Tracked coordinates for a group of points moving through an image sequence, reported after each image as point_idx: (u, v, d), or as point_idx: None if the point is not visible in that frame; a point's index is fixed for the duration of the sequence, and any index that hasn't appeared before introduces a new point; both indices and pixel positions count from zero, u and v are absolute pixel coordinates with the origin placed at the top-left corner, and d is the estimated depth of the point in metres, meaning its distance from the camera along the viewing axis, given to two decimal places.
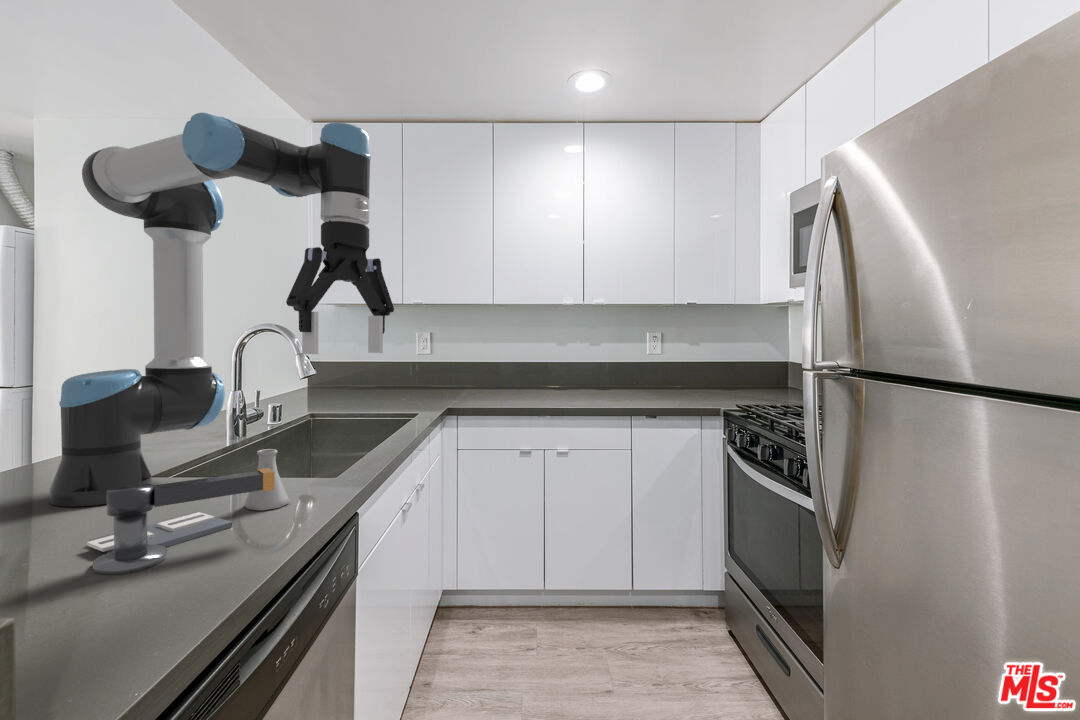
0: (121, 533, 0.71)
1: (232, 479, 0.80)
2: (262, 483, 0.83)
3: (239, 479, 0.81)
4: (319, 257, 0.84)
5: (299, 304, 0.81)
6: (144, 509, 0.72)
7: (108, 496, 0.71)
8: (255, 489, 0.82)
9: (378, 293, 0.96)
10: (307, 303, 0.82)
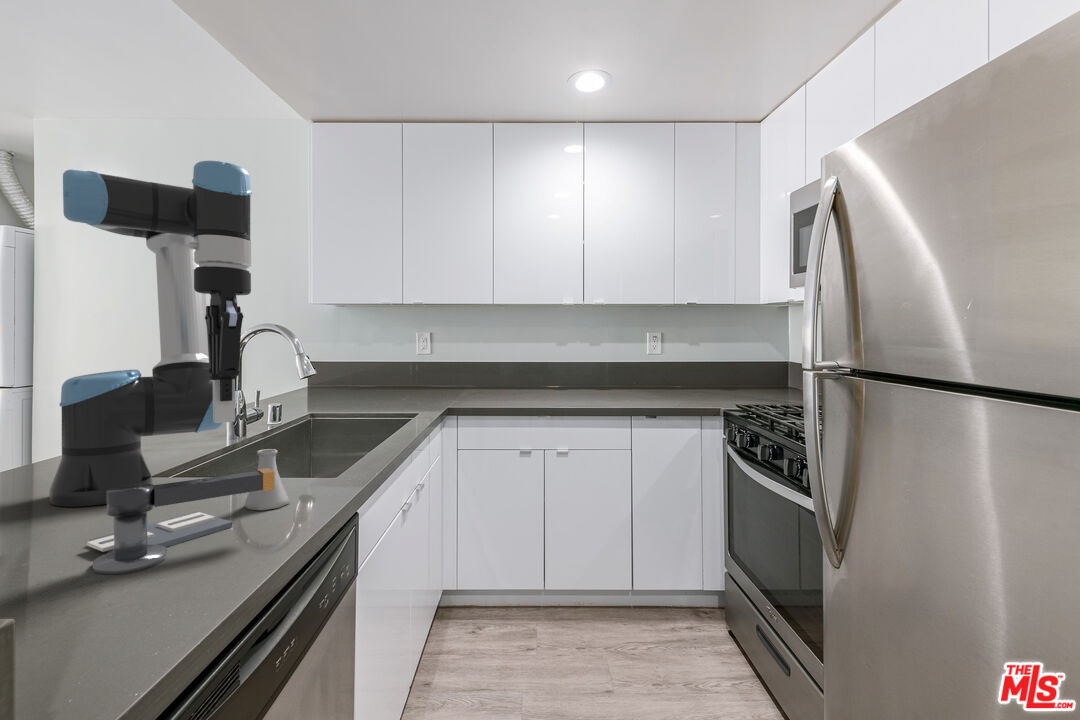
0: (121, 533, 0.71)
1: (232, 479, 0.80)
2: (262, 483, 0.83)
3: (239, 479, 0.81)
4: (207, 322, 0.86)
5: (210, 373, 0.85)
6: (144, 509, 0.72)
7: (108, 496, 0.71)
8: (255, 489, 0.82)
9: None
10: None
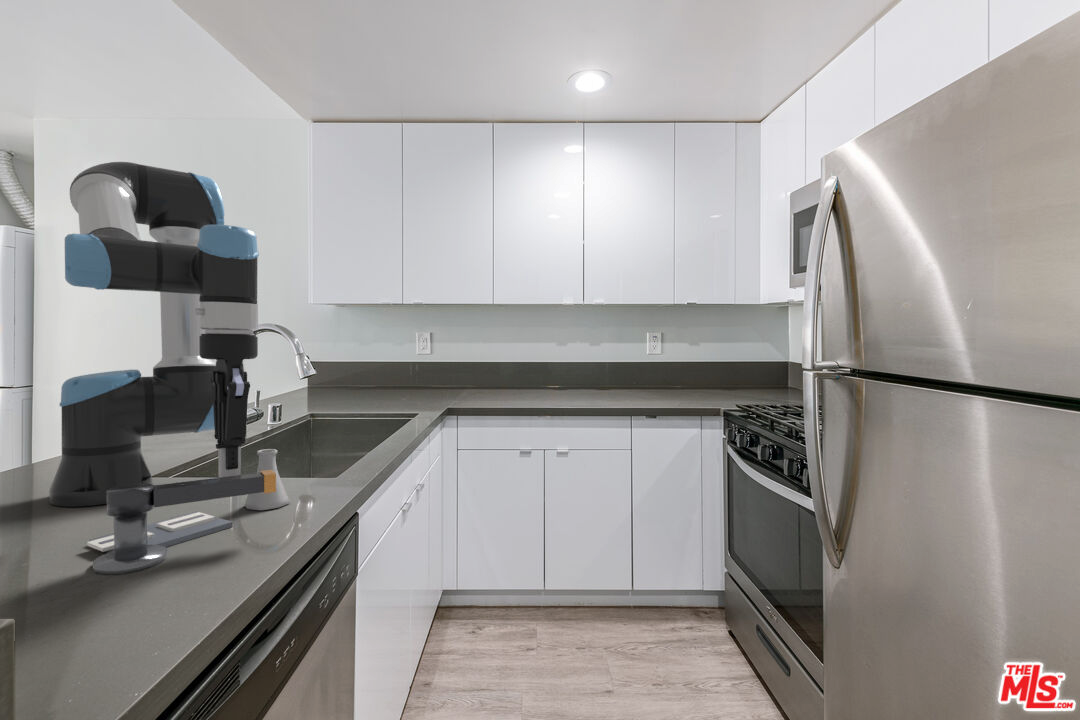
0: (121, 533, 0.71)
1: (233, 481, 0.79)
2: (263, 485, 0.82)
3: (240, 480, 0.80)
4: (212, 385, 0.84)
5: (215, 438, 0.83)
6: (142, 509, 0.72)
7: (107, 496, 0.71)
8: (256, 491, 0.81)
9: None
10: None
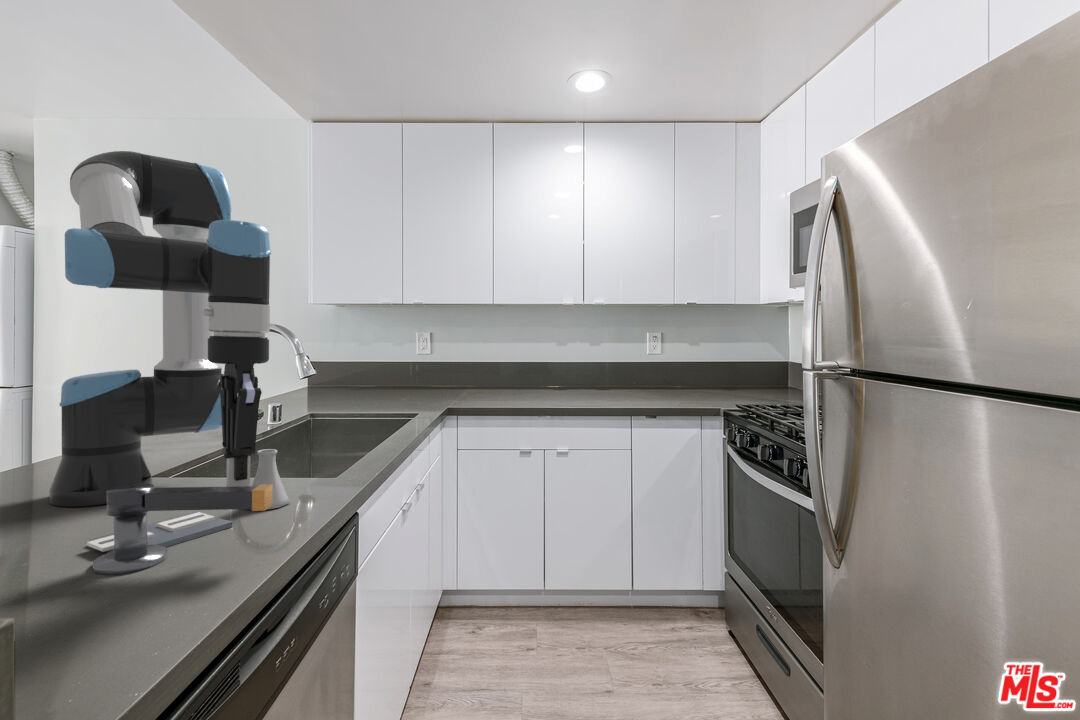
0: (121, 533, 0.71)
1: (220, 492, 0.73)
2: (252, 501, 0.74)
3: (227, 493, 0.73)
4: (220, 390, 0.79)
5: (223, 446, 0.78)
6: (130, 512, 0.71)
7: None
8: (244, 507, 0.74)
9: None
10: None
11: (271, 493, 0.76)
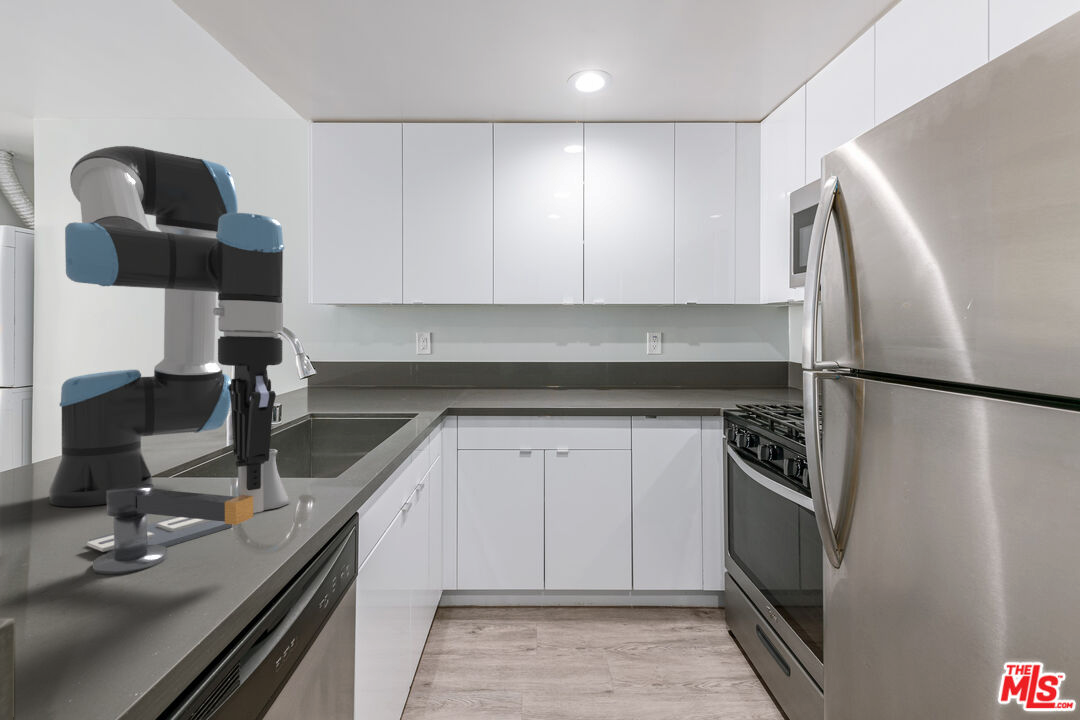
0: (121, 533, 0.71)
1: (198, 501, 0.69)
2: (225, 513, 0.68)
3: (204, 502, 0.69)
4: (231, 393, 0.75)
5: (235, 453, 0.74)
6: (123, 513, 0.71)
7: None
8: (219, 519, 0.69)
9: None
10: None
11: (250, 506, 0.71)
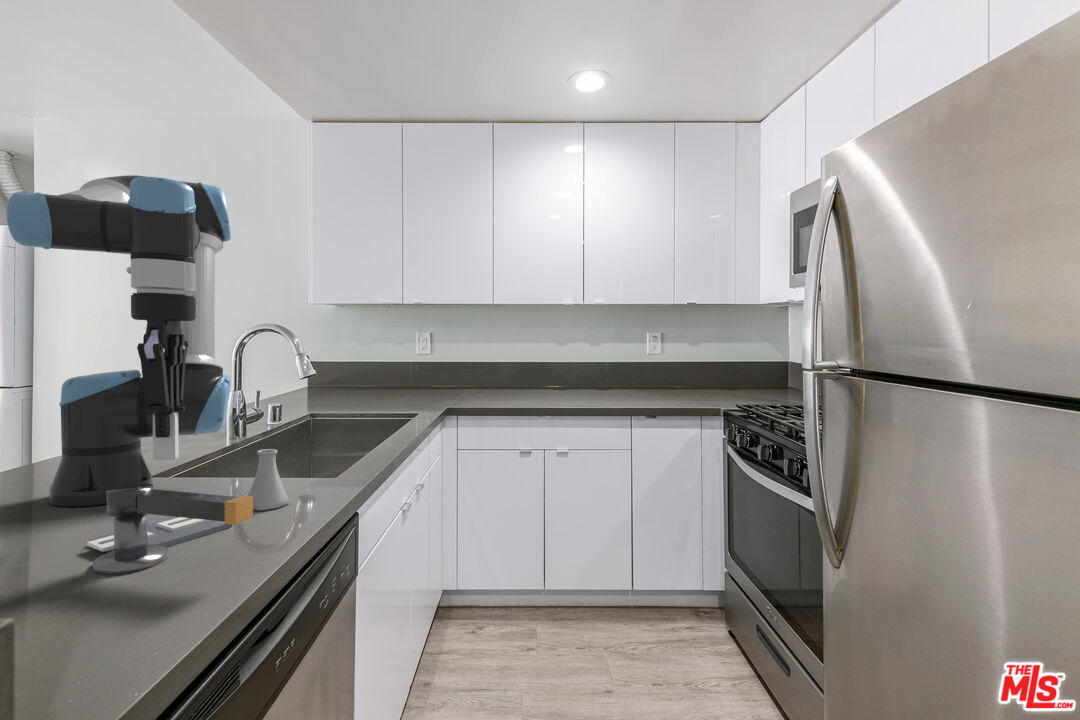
0: (121, 533, 0.71)
1: (198, 501, 0.69)
2: (225, 513, 0.68)
3: (204, 502, 0.69)
4: None
5: None
6: (123, 513, 0.71)
7: None
8: (219, 519, 0.69)
9: None
10: None
11: (250, 506, 0.70)
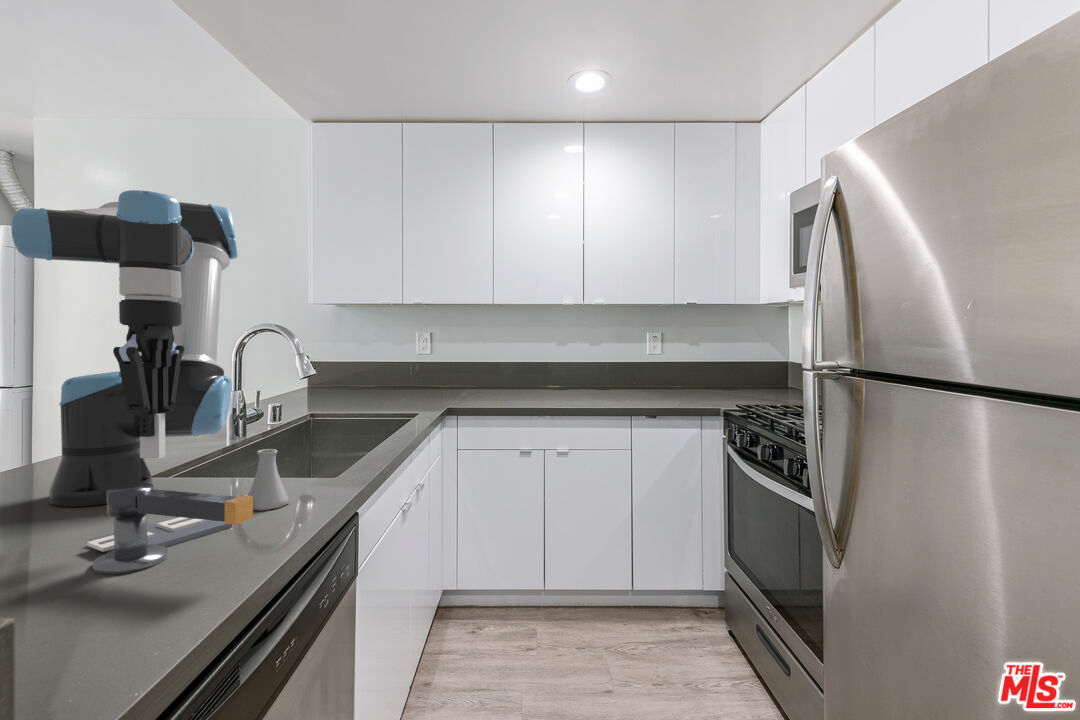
0: (121, 533, 0.71)
1: (198, 501, 0.69)
2: (225, 513, 0.68)
3: (204, 502, 0.69)
4: None
5: None
6: (123, 513, 0.71)
7: None
8: (219, 519, 0.69)
9: None
10: None
11: (250, 506, 0.70)
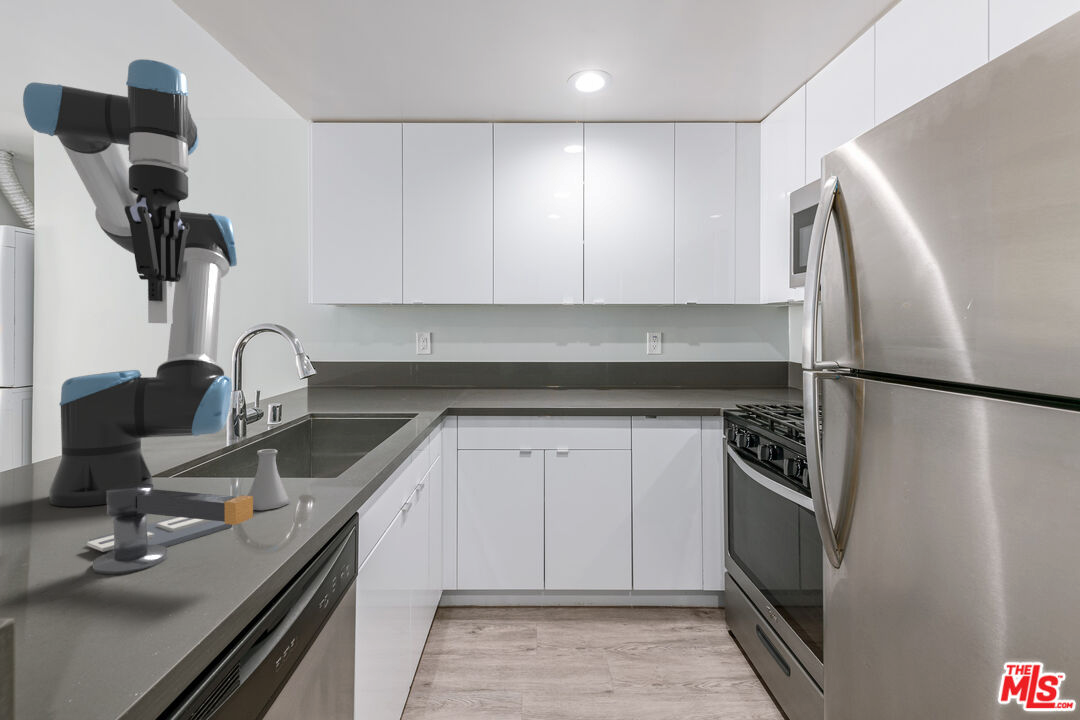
0: (121, 533, 0.71)
1: (198, 501, 0.69)
2: (225, 513, 0.68)
3: (204, 502, 0.69)
4: None
5: None
6: (123, 513, 0.71)
7: None
8: (219, 519, 0.69)
9: None
10: None
11: (250, 506, 0.70)
